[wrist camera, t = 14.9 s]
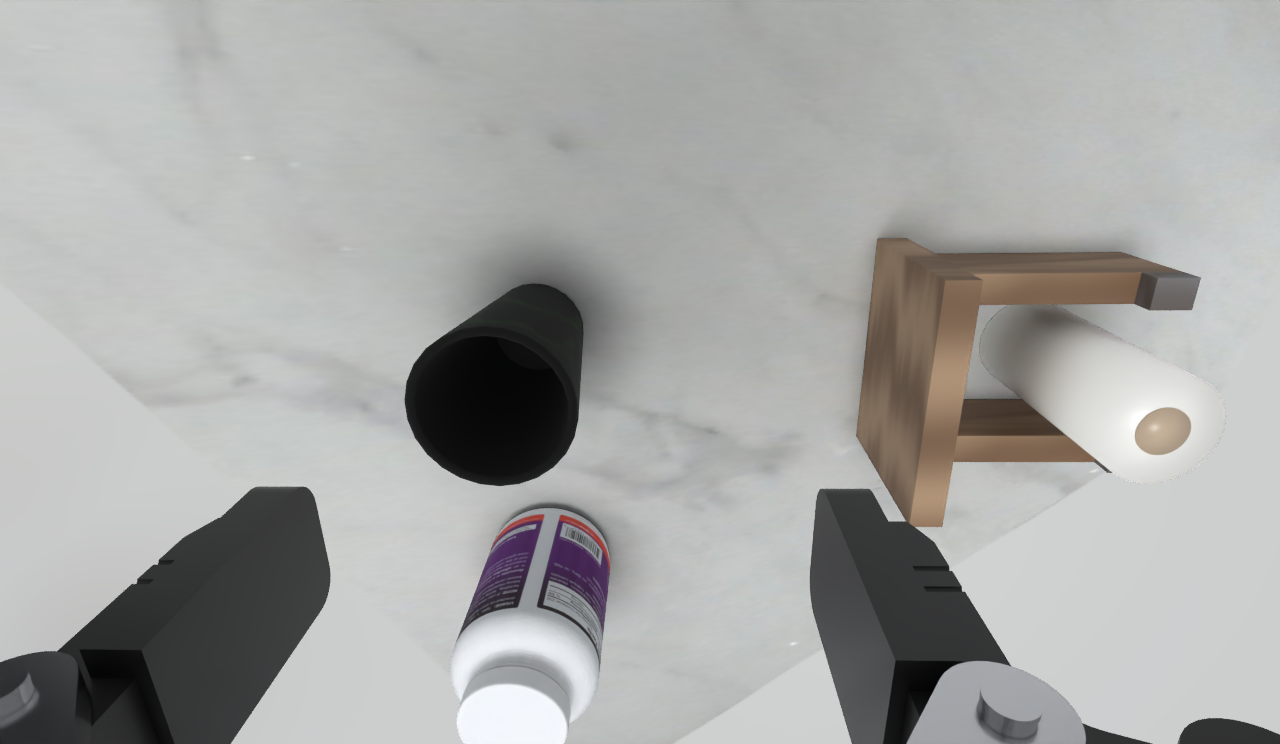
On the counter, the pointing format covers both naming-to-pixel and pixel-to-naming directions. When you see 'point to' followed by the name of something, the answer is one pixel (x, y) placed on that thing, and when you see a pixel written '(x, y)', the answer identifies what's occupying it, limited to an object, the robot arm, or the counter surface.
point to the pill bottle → (533, 631)
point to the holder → (940, 355)
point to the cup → (501, 389)
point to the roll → (1105, 392)
